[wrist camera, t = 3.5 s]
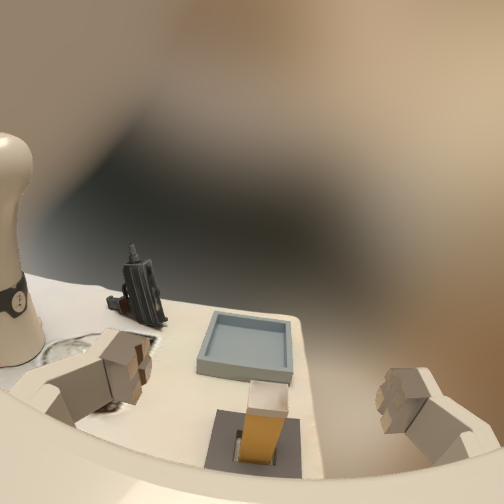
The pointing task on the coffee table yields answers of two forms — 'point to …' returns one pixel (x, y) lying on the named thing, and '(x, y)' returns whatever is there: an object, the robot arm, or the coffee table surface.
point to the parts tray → (247, 349)
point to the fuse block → (222, 456)
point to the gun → (139, 292)
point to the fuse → (263, 421)
